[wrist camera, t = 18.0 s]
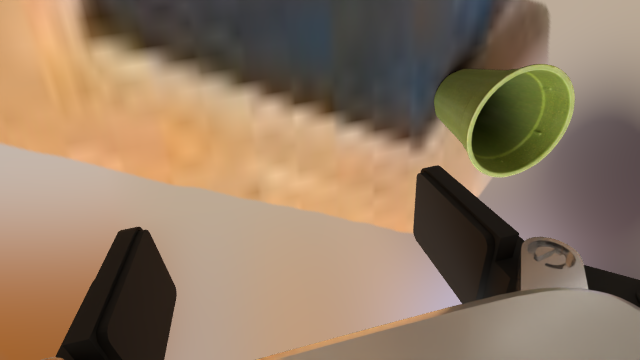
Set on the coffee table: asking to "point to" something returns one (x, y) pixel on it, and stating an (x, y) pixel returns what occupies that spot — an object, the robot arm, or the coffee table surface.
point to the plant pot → (506, 114)
